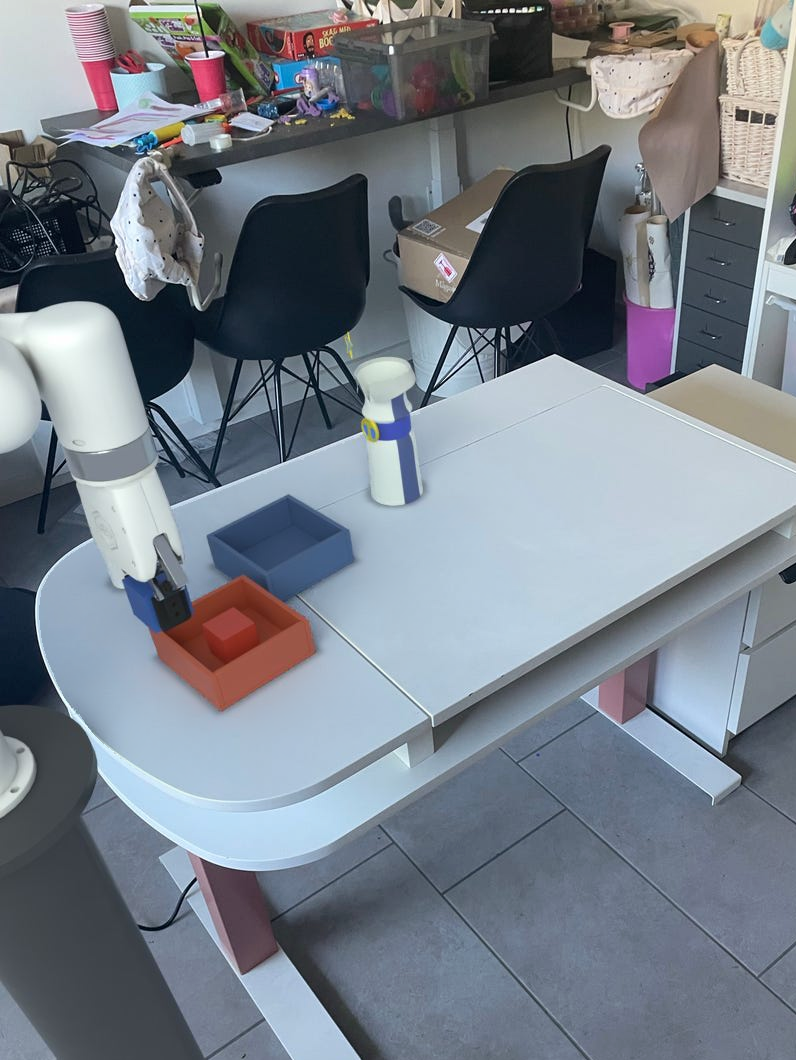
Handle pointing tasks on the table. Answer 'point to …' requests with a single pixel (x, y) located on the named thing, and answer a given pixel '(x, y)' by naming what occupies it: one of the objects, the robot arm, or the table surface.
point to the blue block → (146, 600)
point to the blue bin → (282, 547)
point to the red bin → (226, 684)
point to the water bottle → (389, 429)
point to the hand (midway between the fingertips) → (163, 611)
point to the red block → (230, 635)
